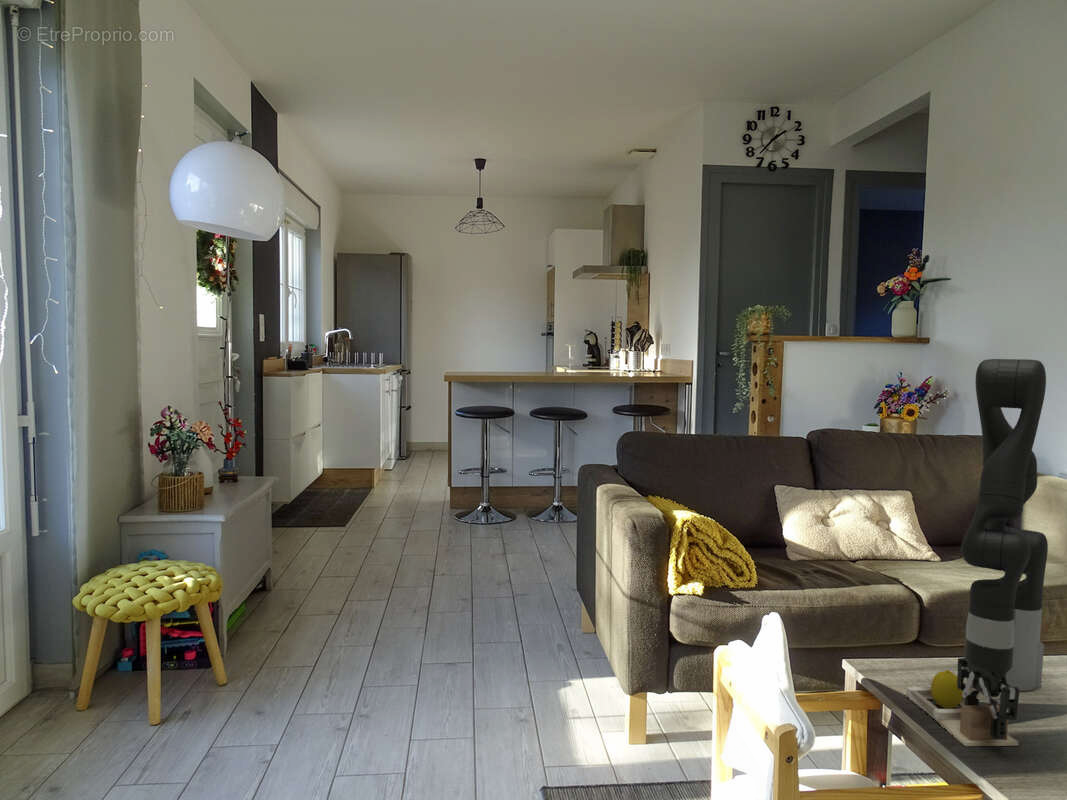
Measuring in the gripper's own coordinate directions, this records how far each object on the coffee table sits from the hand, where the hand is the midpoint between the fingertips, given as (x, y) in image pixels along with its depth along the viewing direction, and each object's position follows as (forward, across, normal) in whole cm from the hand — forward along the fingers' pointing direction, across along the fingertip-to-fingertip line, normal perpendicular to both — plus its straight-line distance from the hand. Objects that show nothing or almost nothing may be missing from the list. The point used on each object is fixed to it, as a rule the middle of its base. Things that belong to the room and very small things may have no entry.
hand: (983, 727), depth 141 cm
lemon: (+2, +12, 0) cm, 12 cm away
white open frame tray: (+2, +6, 0) cm, 7 cm away
